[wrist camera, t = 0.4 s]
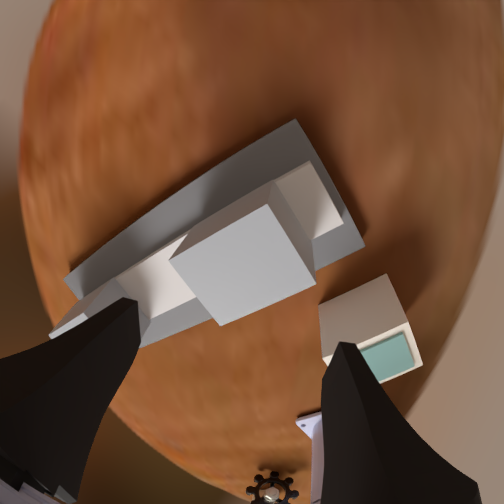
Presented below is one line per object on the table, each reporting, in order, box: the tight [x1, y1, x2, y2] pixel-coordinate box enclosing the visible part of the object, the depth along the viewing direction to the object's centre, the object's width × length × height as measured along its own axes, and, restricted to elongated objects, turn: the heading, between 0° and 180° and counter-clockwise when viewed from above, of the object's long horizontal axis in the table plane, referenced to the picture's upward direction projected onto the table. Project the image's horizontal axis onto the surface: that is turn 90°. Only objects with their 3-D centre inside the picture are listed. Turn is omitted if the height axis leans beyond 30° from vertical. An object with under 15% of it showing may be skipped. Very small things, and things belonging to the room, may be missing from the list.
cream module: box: [318, 273, 423, 383], centre depth 18 cm, size 4×5×5 cm
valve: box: [246, 471, 299, 504], centre depth 33 cm, size 7×7×12 cm
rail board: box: [49, 118, 365, 348], centre depth 17 cm, size 8×20×6 cm, turn 122°
